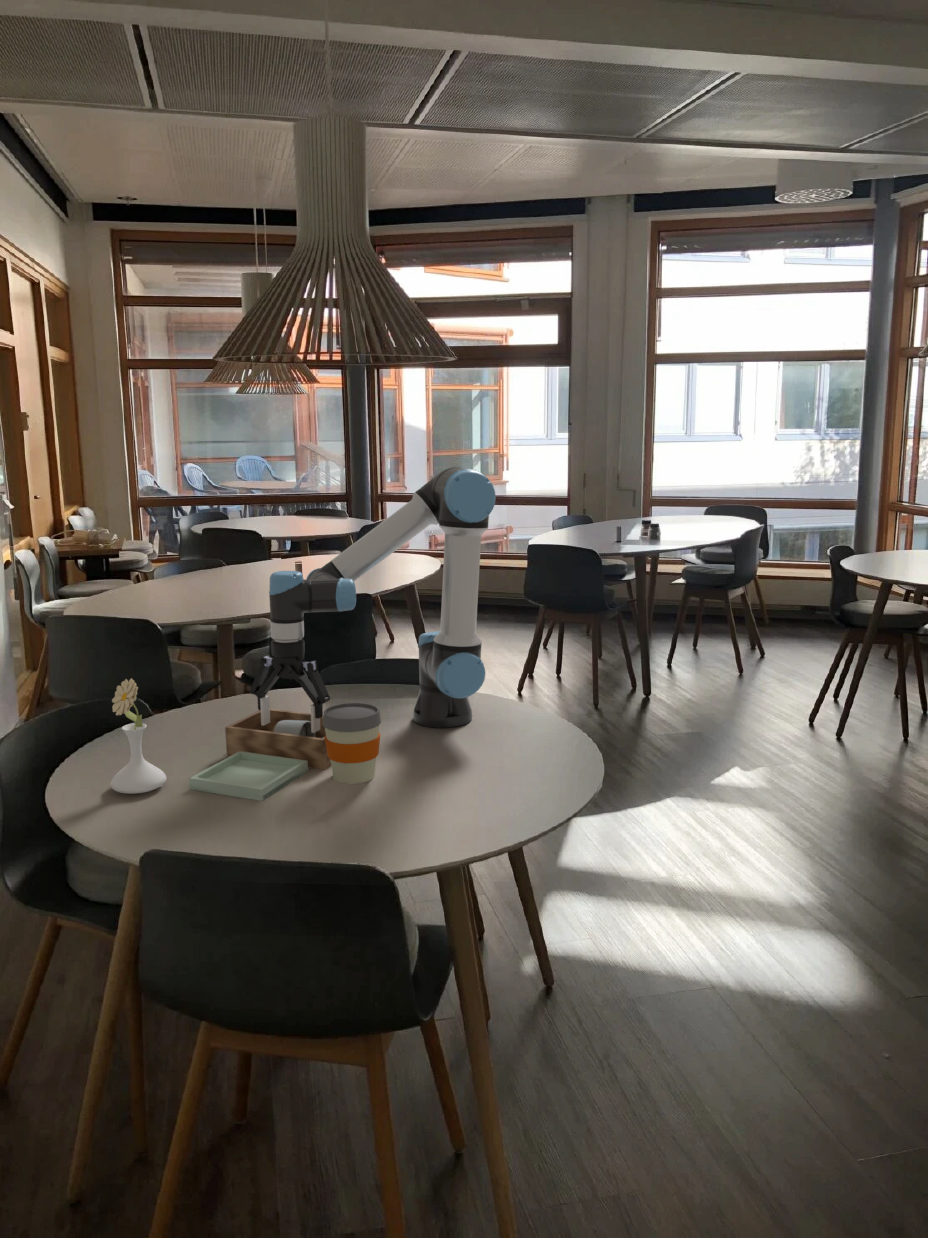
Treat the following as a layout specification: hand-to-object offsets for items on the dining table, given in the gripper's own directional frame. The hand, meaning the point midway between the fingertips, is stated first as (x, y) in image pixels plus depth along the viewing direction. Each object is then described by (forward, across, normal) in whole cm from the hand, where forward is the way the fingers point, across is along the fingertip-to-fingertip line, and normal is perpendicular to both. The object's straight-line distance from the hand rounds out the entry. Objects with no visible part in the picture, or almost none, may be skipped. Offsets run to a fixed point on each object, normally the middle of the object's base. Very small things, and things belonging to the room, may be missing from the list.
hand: (290, 727), depth 229 cm
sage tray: (+6, -1, +19) cm, 20 cm away
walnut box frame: (+6, 0, 0) cm, 6 cm away
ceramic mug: (+6, 0, 0) cm, 6 cm away
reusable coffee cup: (+6, -21, +9) cm, 24 cm away
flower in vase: (+7, +18, +32) cm, 37 cm away
